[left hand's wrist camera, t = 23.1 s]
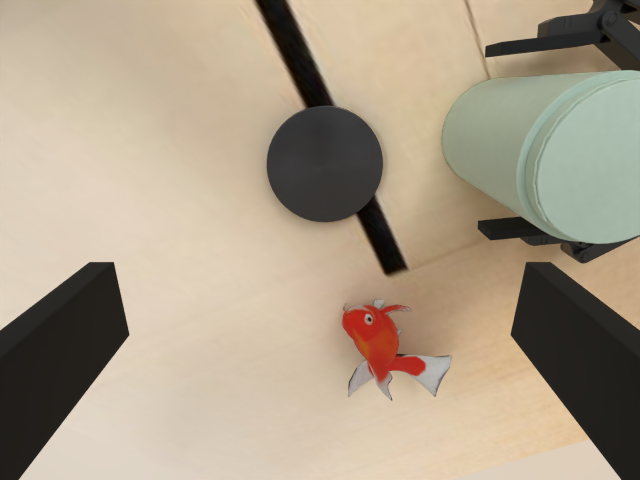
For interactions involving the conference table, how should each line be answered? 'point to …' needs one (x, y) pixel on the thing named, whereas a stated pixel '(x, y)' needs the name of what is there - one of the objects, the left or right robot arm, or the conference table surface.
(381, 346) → the fish
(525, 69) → the conference table surface
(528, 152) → the jar
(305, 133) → the lid
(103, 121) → the conference table surface
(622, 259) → the conference table surface
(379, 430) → the conference table surface
